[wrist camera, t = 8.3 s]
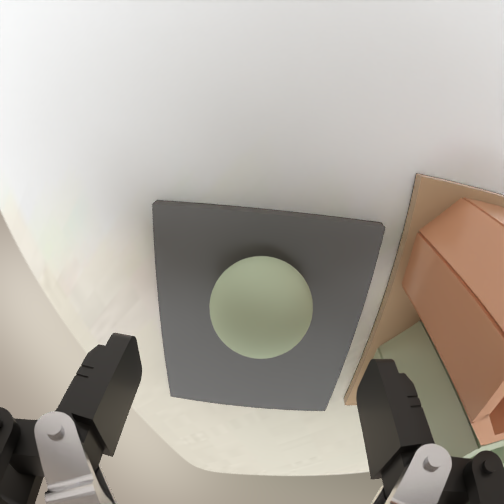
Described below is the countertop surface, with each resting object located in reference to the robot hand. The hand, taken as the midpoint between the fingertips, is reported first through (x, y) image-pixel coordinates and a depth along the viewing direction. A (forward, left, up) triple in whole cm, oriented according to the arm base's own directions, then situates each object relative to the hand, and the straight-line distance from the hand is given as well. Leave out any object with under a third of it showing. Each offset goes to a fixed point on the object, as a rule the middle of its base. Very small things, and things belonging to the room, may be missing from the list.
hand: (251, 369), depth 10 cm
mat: (0, +4, -7) cm, 8 cm away
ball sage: (0, 0, -6) cm, 6 cm away
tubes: (-11, +2, -7) cm, 13 cm away
